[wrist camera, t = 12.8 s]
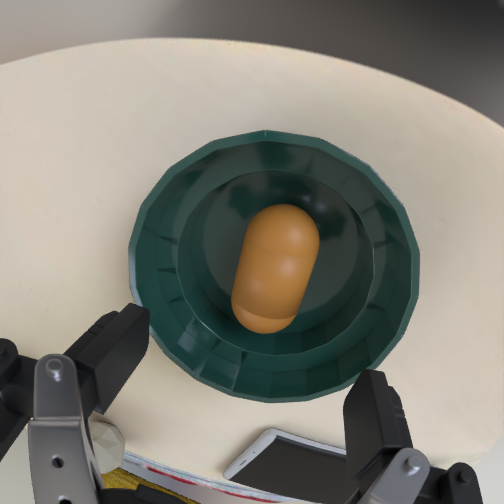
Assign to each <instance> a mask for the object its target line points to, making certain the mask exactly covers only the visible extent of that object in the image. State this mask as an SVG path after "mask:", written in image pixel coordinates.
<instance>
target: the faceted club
mask: <svg viewBox="0 0 504 504" xmlns="http://www.w3.org/2000/svg"><path fill="white" fill-rule="evenodd" d="M89 424H90V429H91V435H92V440H93V445H94V449H95V454H96V458H97V462H98V466H99V469H100V472H101V474H106V473H108V472H110V471H112V470H114V469H116V468H118V467H119V466H121V465H122V462H123V455H124V448H125V441H124V439H123V437H122V435H121V434H120V432H119V430H118V428H117V427H116V426H113V425H110V424H108V423H105V422H96V421H89Z"/></svg>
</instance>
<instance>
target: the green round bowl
mask: <svg viewBox="0 0 504 504" xmlns="http://www.w3.org/2000/svg"><path fill="white" fill-rule="evenodd" d="M276 204H290V205H294V206H296V207H298V208H300V209H302V210H304V211H305V212H306V213H307V214H308V215H309V216H310V217H311V218H312V219H313V221H314V222H315V224H316V227H317V229H318V232H319V237H320V245H319V250H318V254H317V258H316V261H315V264H314V267H313V270H312V273H311V276H310V279H309V282H308V285H307V287H306V290H305V293H304V296H303V299H302V302H301V305H300V307H299V310H298V313H297V315H296V317H295V318H294V319H293V321H292V322H291V323H290V324H289V325H288V326H287V327H285V328H284V329H282V330H280V331H278V332H275V333H270V334H261V333H256V332H253V331H251V330H249V329H247V328H246V327H244V326H243V325H242V324H241V323H240V322H239V321H238V319H237V318H236V316H235V314H234V312H233V309H232V303H231V294H232V289H233V285H234V280H235V276H236V272H237V267H238V263H239V259H240V255H241V250H242V246H243V242H244V238H245V233H246V231H247V228H248V225H249V223H250V222H251V220H252V218H253V217H254V216H255V215H256V214H257V213H258V212H260V211H261V210H263V209H264V208H266V207H268V206H271V205H276ZM128 252H129V281H130V289H131V292H132V295H133V298H134V301H135V303H136V305H138V306H141V307H144V308H147V309H149V310H150V327H149V333H150V334H151V336H152V337H153V339H154V340H155V341H156V343H157V344H158V346H159V347H160V348H161V350H162V351H163V352H164V354H165V355H166V356H167V357H168V358H170V359H171V360H172V361H173V362H174V363H176V364H177V365H178V366H179V367H180V368H182V369H183V370H184V371H185V372H187V373H188V374H189V375H190V376H192V377H193V378H194V379H196V380H197V381H199V382H201V383H204V384H206V385H208V386H210V387H212V388H214V389H216V390H219V391H221V392H223V393H225V394H227V395H230V396H233V397H238V398H243V399H248V400H253V401H259V402H264V403H285V402H301V401H309V400H312V399H316V398H319V397H322V396H325V395H328V394H331V393H335V392H337V391H340V390H343V389H345V388H347V387H349V386H350V385H352V384H353V383H355V382H356V380H357V378H358V376H359V375H360V373H361V372H362V370H363V369H371V370H374V369H376V368H377V367H378V366H379V365H380V364H381V363H382V361H383V360H384V359H385V358H386V357H387V356H388V354H389V353H390V352H391V351H392V350H393V348H394V347H395V346H396V345H397V343H398V342H399V341H400V340H401V338H402V337H403V335H404V333H405V331H406V328H407V326H408V323H409V321H410V318H411V316H412V313H413V311H414V308H415V305H416V303H417V300H418V296H419V275H420V252H419V248H418V244H417V241H416V238H415V235H414V232H413V229H412V227H411V224H410V221H409V218H408V215H407V213H406V210H405V207H404V206H403V204H402V203H401V202H400V200H399V199H398V198H397V197H396V195H395V194H394V193H393V192H392V190H391V189H390V188H389V187H388V186H387V185H386V183H385V182H384V181H383V180H382V179H381V178H380V176H379V175H378V174H377V173H376V172H375V171H374V169H373V168H372V167H371V166H369V165H368V164H367V163H365V162H363V161H361V160H360V159H358V158H356V157H355V156H353V155H351V154H349V153H347V152H346V151H344V150H342V149H340V148H338V147H337V146H335V145H333V144H331V143H329V142H327V141H325V140H323V139H320V138H316V137H311V136H305V135H298V134H292V133H285V132H278V131H270V130H262V131H256V132H251V133H246V134H241V135H236V136H232V137H227V138H222V139H218V140H214V141H211V142H209V143H208V144H206V145H204V146H203V147H201V148H199V149H198V150H196V151H195V152H193V153H191V154H190V155H188V156H187V157H185V158H184V159H182V160H180V161H179V162H177V163H176V164H174V165H173V166H171V167H170V168H169V169H168V170H167V171H166V172H165V174H164V175H163V176H162V178H161V179H160V180H159V182H158V183H157V184H156V185H155V187H154V188H153V189H152V191H151V192H150V193H149V195H148V196H147V197H146V199H145V200H144V202H143V203H142V205H141V207H140V210H139V213H138V216H137V219H136V222H135V225H134V229H133V232H132V235H131V239H130V242H129V247H128Z"/></svg>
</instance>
